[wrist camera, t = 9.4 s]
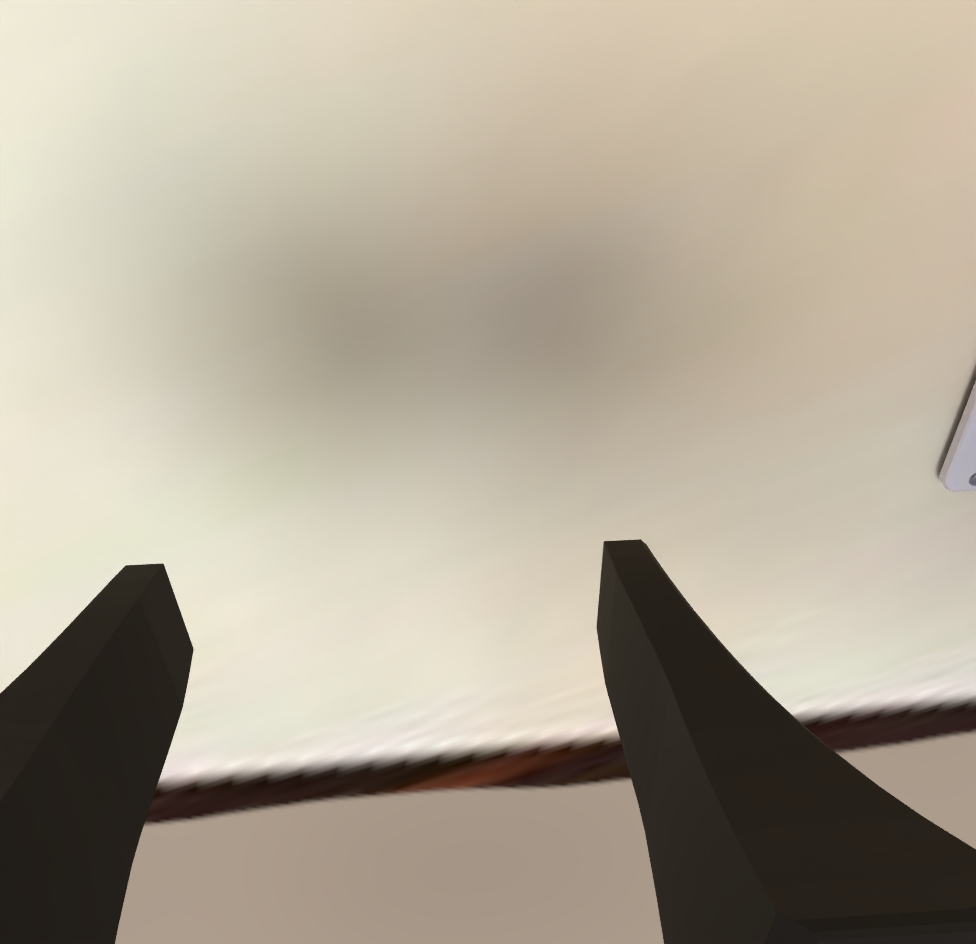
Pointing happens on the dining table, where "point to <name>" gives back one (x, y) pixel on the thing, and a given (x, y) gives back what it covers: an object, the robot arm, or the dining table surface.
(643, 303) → the dining table surface
